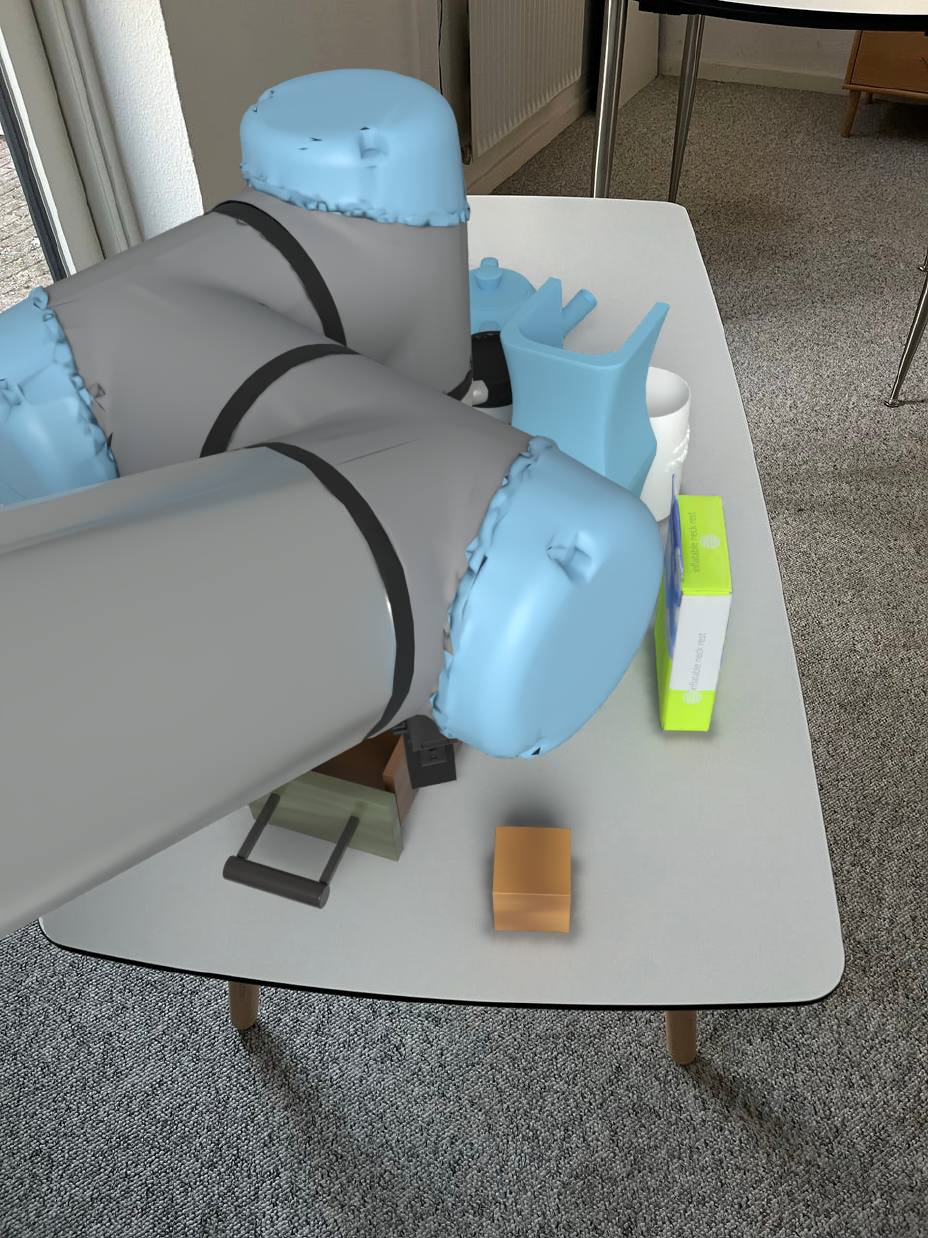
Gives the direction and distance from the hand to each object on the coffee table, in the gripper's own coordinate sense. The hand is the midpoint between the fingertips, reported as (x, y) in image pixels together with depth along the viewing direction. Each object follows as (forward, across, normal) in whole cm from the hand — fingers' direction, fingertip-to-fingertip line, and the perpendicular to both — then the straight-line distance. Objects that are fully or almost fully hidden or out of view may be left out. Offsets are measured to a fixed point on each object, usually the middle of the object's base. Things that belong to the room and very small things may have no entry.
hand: (432, 774), depth 64 cm
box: (+14, +14, -22) cm, 30 cm away
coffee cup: (+14, +41, -13) cm, 46 cm away
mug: (+14, +38, -27) cm, 49 cm away
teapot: (+15, +62, -18) cm, 66 cm away
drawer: (+13, +8, +6) cm, 17 cm away
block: (+14, -2, -6) cm, 15 cm away
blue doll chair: (+14, +28, -17) cm, 36 cm away
